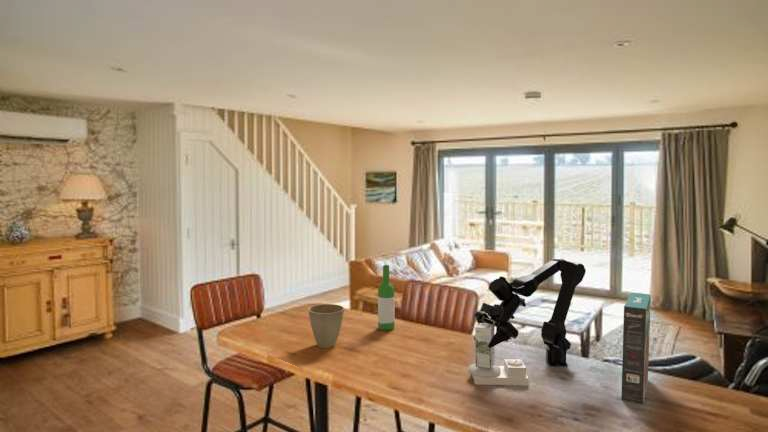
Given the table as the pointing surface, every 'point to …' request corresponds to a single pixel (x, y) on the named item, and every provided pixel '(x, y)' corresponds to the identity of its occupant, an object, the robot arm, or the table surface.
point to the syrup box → (484, 345)
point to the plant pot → (326, 323)
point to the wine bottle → (386, 302)
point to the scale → (501, 374)
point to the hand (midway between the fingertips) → (481, 343)
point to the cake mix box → (635, 347)
